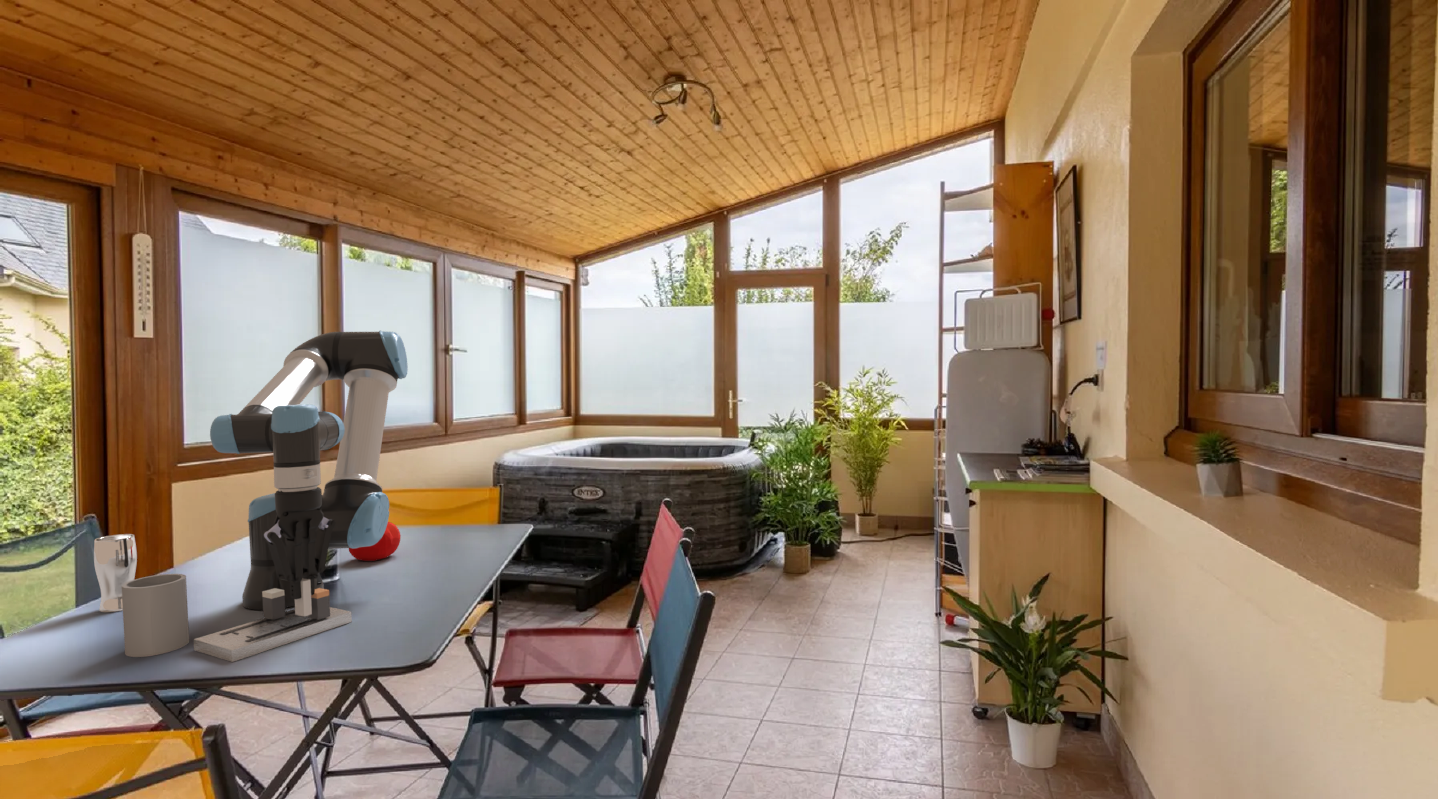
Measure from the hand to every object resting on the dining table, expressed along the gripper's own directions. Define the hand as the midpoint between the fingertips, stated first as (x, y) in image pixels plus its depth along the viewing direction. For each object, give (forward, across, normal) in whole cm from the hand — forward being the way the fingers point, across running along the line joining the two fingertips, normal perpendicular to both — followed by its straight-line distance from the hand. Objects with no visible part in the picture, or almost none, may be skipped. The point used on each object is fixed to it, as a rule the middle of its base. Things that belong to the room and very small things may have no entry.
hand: (303, 614), depth 138 cm
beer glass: (+4, -8, +52) cm, 53 cm away
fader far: (+1, -1, +8) cm, 8 cm away
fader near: (+1, +3, 0) cm, 3 cm away
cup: (+4, -16, +18) cm, 24 cm away
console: (+4, -3, +4) cm, 6 cm away
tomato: (+4, +43, +38) cm, 58 cm away
